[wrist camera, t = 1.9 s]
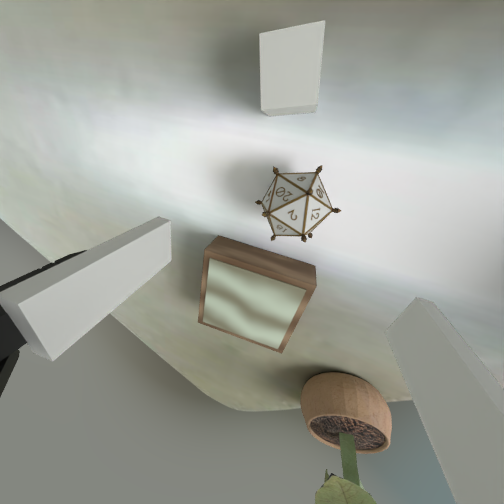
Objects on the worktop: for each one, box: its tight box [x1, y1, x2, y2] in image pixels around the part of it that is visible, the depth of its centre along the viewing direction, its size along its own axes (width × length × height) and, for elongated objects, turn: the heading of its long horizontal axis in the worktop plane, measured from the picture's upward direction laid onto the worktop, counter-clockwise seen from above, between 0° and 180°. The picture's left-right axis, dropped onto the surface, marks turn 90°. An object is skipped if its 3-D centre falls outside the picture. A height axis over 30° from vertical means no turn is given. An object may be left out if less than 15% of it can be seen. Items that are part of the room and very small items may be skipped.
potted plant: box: [301, 372, 392, 504], centre depth 29 cm, size 22×18×30 cm
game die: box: [255, 165, 341, 242], centre depth 22 cm, size 9×8×10 cm
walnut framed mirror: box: [198, 235, 317, 353], centre depth 32 cm, size 16×16×5 cm
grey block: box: [259, 20, 325, 117], centre depth 18 cm, size 5×5×5 cm
